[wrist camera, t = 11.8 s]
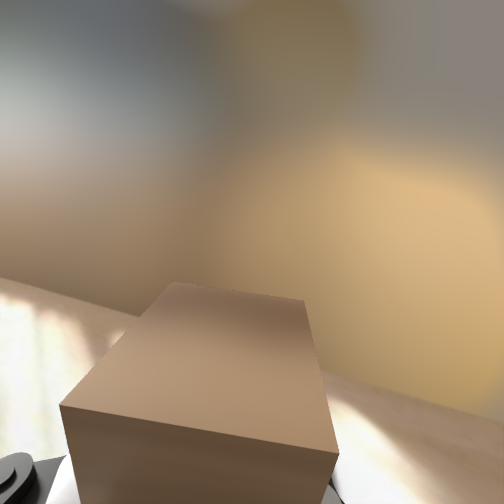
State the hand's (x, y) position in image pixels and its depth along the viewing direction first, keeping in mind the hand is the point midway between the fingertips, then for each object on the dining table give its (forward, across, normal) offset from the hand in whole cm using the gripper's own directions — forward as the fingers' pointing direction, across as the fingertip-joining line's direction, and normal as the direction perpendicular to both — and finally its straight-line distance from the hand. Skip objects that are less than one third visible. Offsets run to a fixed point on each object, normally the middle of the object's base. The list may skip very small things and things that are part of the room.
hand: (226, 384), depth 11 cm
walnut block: (-3, 0, +6) cm, 7 cm away
